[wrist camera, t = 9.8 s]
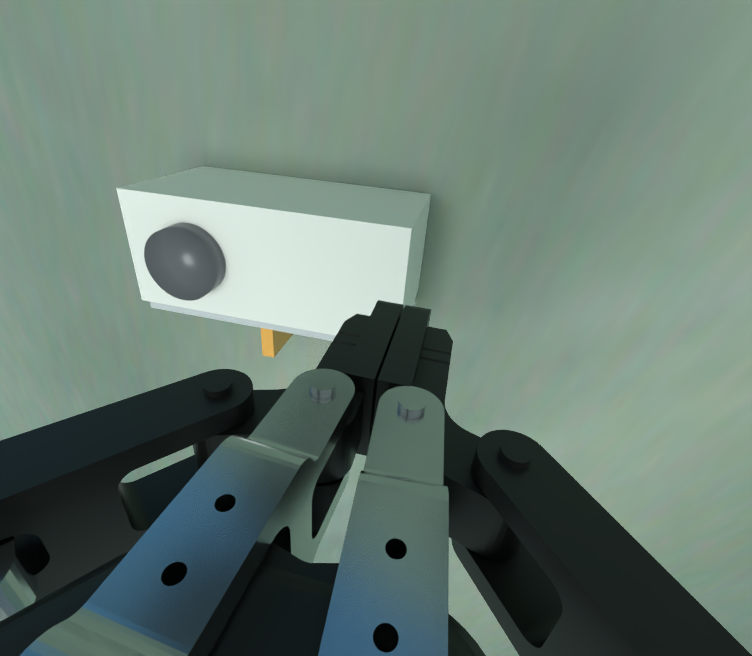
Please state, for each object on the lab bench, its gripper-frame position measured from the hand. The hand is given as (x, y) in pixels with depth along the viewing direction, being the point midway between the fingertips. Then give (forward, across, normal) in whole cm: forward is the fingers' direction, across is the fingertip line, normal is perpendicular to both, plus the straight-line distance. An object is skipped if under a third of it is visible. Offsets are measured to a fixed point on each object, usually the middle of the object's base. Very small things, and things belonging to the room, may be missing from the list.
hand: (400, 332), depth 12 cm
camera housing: (+31, +14, +8) cm, 35 cm away
